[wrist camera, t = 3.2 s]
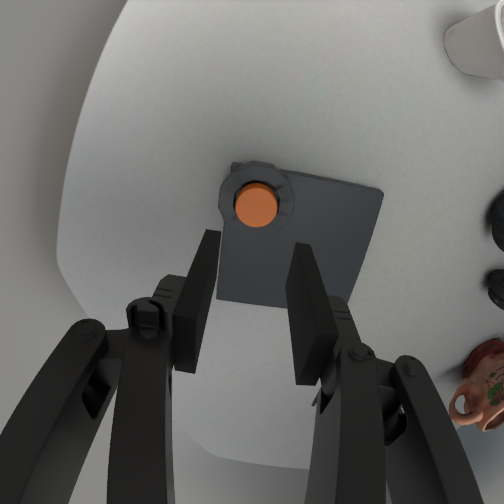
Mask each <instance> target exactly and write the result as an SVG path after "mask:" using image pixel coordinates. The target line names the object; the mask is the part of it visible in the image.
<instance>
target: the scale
mask: <svg viewBox="0 0 504 504" xmlns="http://www.w3.org/2000/svg"><path fill="white" fill-rule="evenodd" d="M251 183H262V184H265V185H267V186H268V187H270V188H271V189H272V191H273V192H274V194H275V197H276V202H277V213H276V216H275V217H274V219H273V220H272V221H271V222H270V223H269V224H267V225H265V226H262V227H251V226H248V225H246V224H244V223H243V222H242V221H241V220H240V219H239V218H238V216H237V214H236V208H235V207H236V201H237V197H238V194H239V192H240V191H241V189H242V188H243V187H245V186H246V185H248V184H251ZM383 197H384V193H383V192H382V191H380V190H378V189H374V188H370V187H366V186H361V185H357V184H353V183H348V182H344V181H339V180H334V179H329V178H325V177H320V176H315V175H309V174H304V173H299V172H293V171H287V170H281V169H277V168H276V167H275V166H274V165H272V164H268V163H262V162H255V161H253V162H252V161H251V162H249V163H246V164H242V163H235V162H233V163H232V166H231V173H230V174H229V175H228V177H227V178H226V179H225V180H224V182H223V184H222V186H221V188H220V194H219V203H218V208H219V210H220V212H221V214H222V216H223V218H224V221H225V222H224V230H223V239H222V248H221V257H220V266H219V276H218V285H217V295H216V299H218V300H225V301H232V302H239V303H247V304H254V305H262V306H270V307H278V308H287V300H286V292H285V285H286V281H287V277H288V273H289V269H290V264H291V260H292V256H293V252H294V248H295V243H296V242H298V243H305V244H310V245H311V248H312V251H313V253H314V256H315V259H316V262H317V265H318V268H319V271H320V274H321V277H322V280H323V283H324V286H325V290H326V293H327V295H331V296H340V297H341V298H342V299H343V300H344V301H345V302H346V303H348V301H349V298H350V296H351V293H352V290H353V288H354V285H355V282H356V280H357V277H358V274H359V272H360V269H361V266H362V263H363V260H364V257H365V254H366V252H367V249H368V246H369V243H370V240H371V236H372V233H373V230H374V227H375V224H376V221H377V217H378V214H379V211H380V207H381V204H382V200H383ZM287 309H288V308H287Z"/></svg>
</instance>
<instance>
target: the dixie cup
mask: <svg viewBox="0 0 504 504" xmlns="http://www.w3.org/2000/svg"><path fill="white" fill-rule="evenodd" d="M444 45H445V49H446V52H447V54H448V57H449V58H450V60H451V62H452V63H453V64H454V65H455V66H456V67H457V69H458V70H460V71H461V72H463V73H465V74H468V75H474V76H480V77H485V78H490V79H495V80H500V81H504V0H498V2H497V3H496V4H495V5H493V6H490V7H488V8H486V9H484V10H482V11H480V12H478V13H476V14H474V15H472V16H470V17H468V18H466V19H464V20H462V21H460V22H459V23H457V24H455V25H453V26H451V27H449V28H448V29H447V30H446V32H445V34H444Z"/></svg>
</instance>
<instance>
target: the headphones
mask: <svg viewBox="0 0 504 504" xmlns="http://www.w3.org/2000/svg"><path fill="white" fill-rule="evenodd" d="M491 223H492V236H493V239H494V241H495V243H496V244H497V246H498V247H499V248H500V249H501V250H502V251H503V252H504V195H503V196H501V197H500V198H499V199H498V200H497V202H496V203H495V204H494V206H493V209H492V212H491ZM488 295H489V297H490V299H491V300H492V302H493V303H494V304H496V305H497V306H498V307H499V308H501V309H503V310H504V270H496V271H494V272H493V273H492V275H491V277H490V286H489V288H488Z"/></svg>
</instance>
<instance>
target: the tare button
mask: <svg viewBox="0 0 504 504" xmlns="http://www.w3.org/2000/svg"><path fill="white" fill-rule="evenodd" d="M235 208H236V214H237V216H238V218H239V219H240V220H241V221H242V222H243V223H244V224H246V225H248V226H251V227H262V226H265V225H267V224H269V223H270V222H271V221H272V220H273V219H274V217H275V216H276V213H277V202H276V197H275V194H274V192H273V191H272V189H271V188H270V187H268V186H267V185H265V184H262V183H251V184H248V185H246V186H245V187H243V188H242V189H241V191H240V192H239V194H238V197H237V201H236V207H235Z"/></svg>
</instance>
